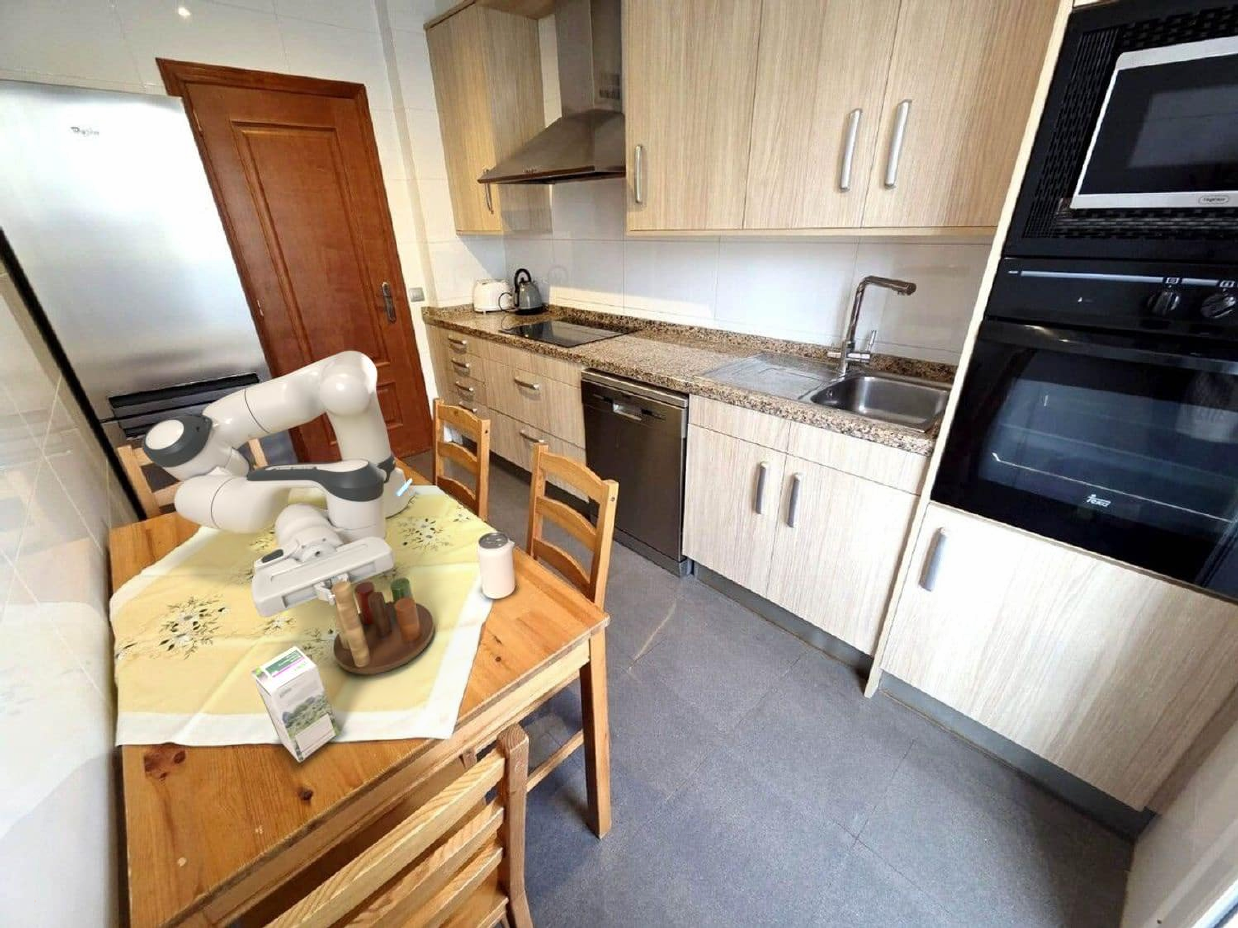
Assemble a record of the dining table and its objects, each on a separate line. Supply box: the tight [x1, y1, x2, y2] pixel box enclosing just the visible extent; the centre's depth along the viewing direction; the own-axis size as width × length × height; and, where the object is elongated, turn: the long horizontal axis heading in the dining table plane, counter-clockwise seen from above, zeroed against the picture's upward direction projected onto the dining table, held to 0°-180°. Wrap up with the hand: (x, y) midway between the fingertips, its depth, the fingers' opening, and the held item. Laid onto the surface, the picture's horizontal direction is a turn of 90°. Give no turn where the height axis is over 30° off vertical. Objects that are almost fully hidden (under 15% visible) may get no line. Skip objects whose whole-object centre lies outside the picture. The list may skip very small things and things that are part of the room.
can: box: [476, 531, 516, 600], centre depth 99 cm, size 6×6×12 cm
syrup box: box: [250, 645, 340, 763], centre depth 69 cm, size 6×6×14 cm
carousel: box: [332, 577, 435, 675], centre depth 85 cm, size 16×16×17 cm
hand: (340, 598), depth 77 cm, fingers closed, pressing on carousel
